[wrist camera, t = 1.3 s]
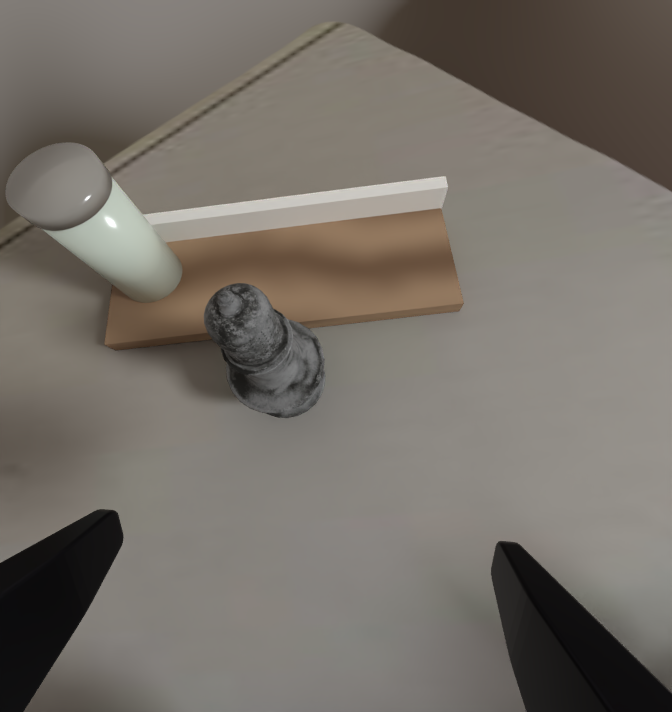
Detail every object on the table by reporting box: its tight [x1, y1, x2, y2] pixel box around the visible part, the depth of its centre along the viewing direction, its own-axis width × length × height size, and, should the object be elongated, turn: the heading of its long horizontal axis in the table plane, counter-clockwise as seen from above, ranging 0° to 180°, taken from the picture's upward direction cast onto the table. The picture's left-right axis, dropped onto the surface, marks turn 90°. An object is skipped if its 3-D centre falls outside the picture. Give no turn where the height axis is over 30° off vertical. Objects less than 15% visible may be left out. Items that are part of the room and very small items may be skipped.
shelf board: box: [104, 208, 464, 350], centre depth 26 cm, size 9×25×1 cm, turn 95°
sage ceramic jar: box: [6, 143, 182, 303], centre depth 22 cm, size 5×5×9 cm
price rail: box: [143, 176, 448, 242], centre depth 27 cm, size 1×25×3 cm, turn 95°
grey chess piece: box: [204, 283, 325, 418], centre depth 19 cm, size 6×6×12 cm
